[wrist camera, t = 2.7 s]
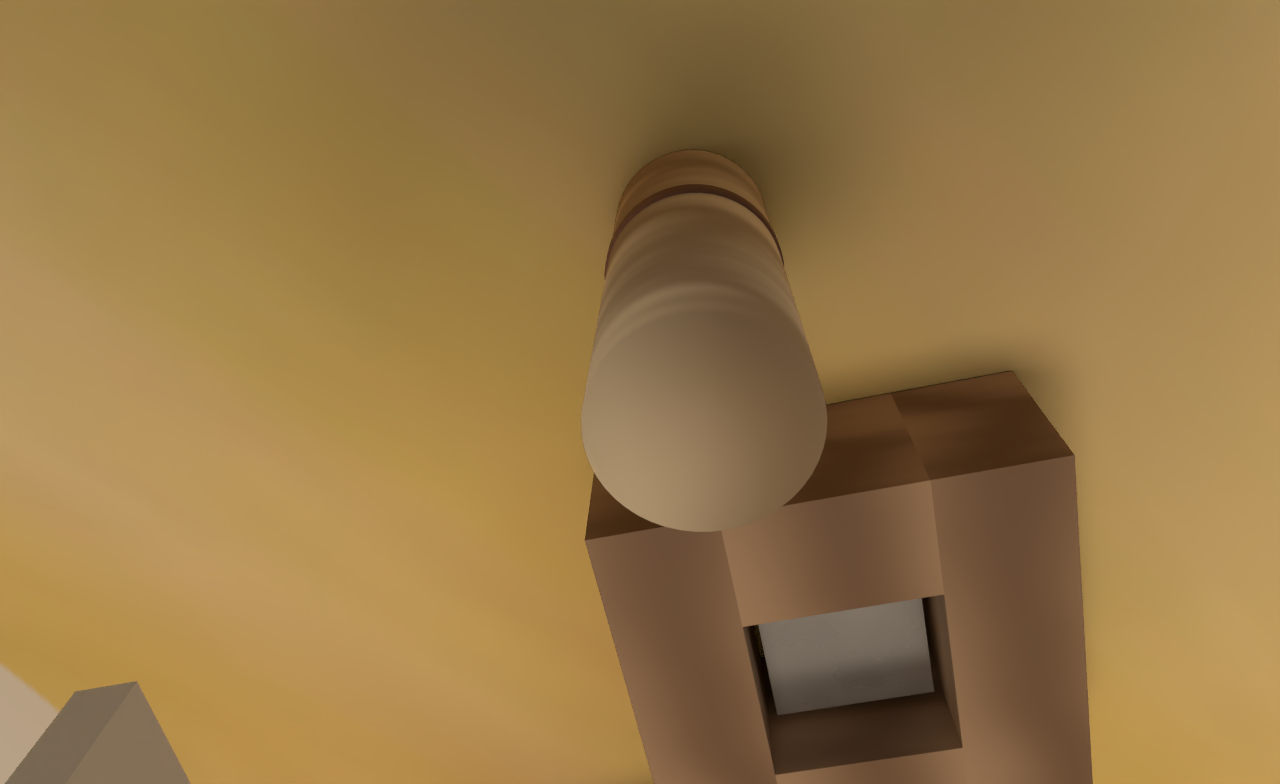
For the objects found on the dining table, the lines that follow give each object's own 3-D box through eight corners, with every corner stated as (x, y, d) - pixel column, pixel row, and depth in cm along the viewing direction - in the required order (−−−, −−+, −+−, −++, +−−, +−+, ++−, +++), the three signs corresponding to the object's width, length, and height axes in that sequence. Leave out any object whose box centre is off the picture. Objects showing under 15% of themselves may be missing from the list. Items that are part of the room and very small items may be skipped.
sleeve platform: (775, 696, 32) (777, 715, 31) (748, 572, 30) (750, 589, 29) (928, 673, 31) (934, 691, 30) (911, 545, 29) (917, 561, 29)
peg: (632, 310, 29) (609, 552, 18) (598, 166, 27) (550, 336, 16) (779, 281, 29) (846, 511, 18) (753, 132, 27) (810, 285, 16)
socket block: (679, 753, 36) (680, 876, 31) (597, 447, 31) (584, 540, 26) (1038, 699, 34) (1094, 820, 30) (1012, 371, 29) (1074, 455, 25)
